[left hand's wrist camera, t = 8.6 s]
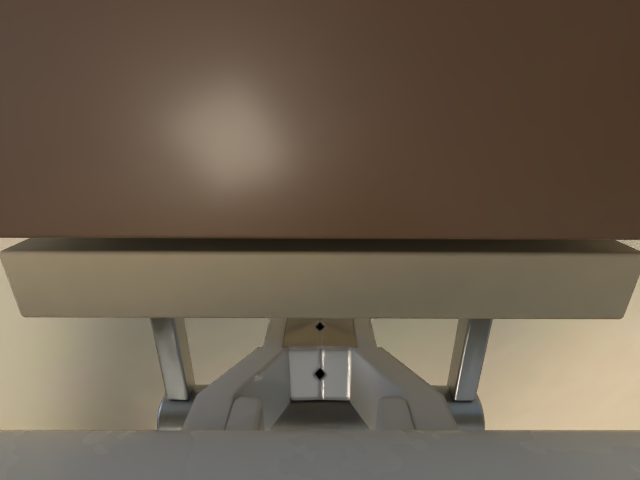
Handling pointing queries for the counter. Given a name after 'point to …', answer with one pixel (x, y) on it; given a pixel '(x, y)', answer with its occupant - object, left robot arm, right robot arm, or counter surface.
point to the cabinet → (320, 119)
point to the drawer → (322, 295)
